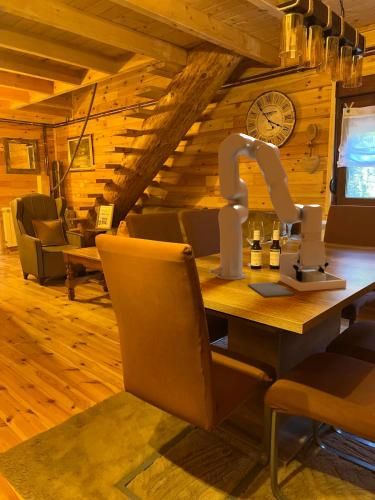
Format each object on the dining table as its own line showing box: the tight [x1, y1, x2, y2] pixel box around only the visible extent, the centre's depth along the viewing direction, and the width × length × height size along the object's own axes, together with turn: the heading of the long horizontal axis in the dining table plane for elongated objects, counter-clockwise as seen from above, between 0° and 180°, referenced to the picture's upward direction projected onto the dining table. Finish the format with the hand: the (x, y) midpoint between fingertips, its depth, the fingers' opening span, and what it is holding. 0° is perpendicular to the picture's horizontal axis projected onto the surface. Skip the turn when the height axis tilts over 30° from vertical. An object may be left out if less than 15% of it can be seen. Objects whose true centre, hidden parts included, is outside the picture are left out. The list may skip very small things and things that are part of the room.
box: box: [296, 268, 327, 283], centre depth 146 cm, size 6×12×5 cm, turn 11°
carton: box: [279, 252, 347, 292], centre depth 146 cm, size 19×18×11 cm
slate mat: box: [247, 281, 295, 298], centre depth 139 cm, size 11×17×1 cm, turn 11°
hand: (309, 279), depth 147 cm, fingers open, 8 cm apart
